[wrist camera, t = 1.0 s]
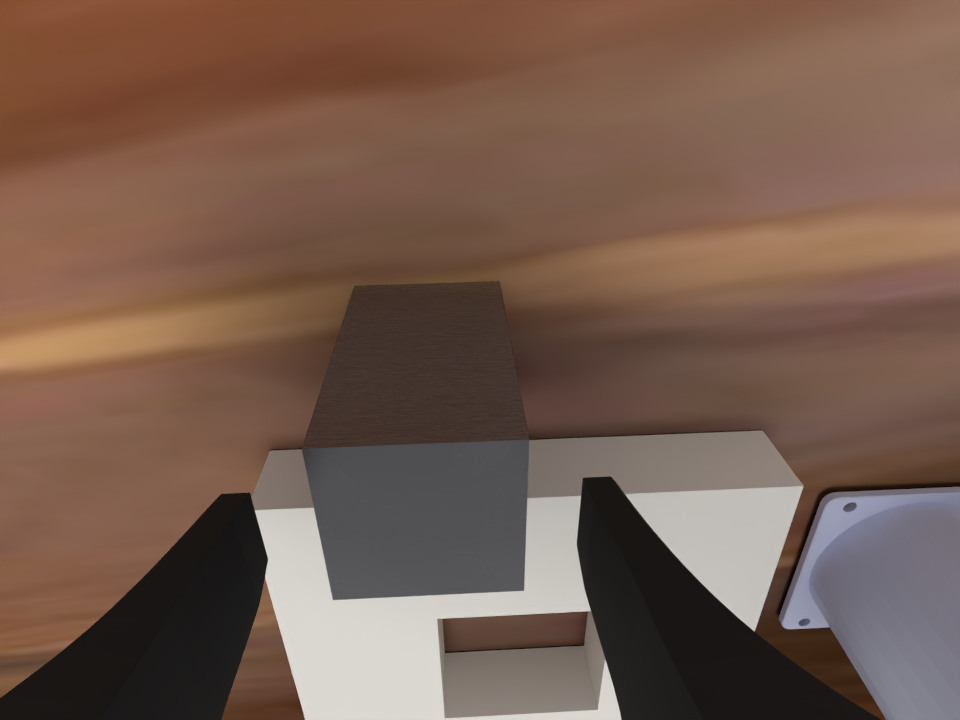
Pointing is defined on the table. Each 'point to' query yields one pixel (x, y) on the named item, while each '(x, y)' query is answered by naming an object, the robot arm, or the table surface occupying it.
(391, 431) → the square peg
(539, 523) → the hole board
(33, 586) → the table surface
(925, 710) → the robot arm
